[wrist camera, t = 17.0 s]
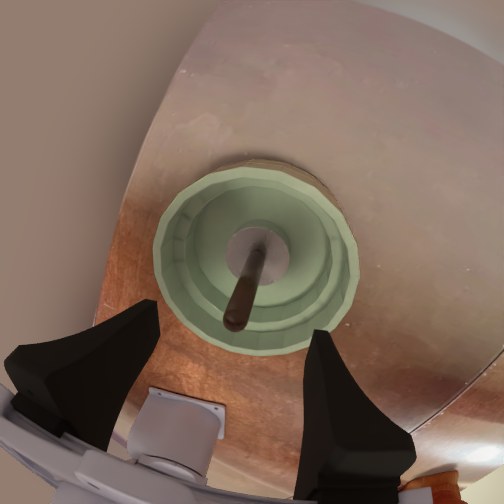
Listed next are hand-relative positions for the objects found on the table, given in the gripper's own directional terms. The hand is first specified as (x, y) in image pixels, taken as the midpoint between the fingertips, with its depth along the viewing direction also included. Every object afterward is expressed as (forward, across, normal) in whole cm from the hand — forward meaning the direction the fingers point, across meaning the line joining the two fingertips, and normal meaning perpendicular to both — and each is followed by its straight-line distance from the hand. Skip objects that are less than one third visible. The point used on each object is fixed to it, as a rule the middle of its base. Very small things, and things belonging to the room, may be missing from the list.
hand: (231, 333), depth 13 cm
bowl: (+10, 0, 0) cm, 10 cm away
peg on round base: (+10, 0, 0) cm, 10 cm away
